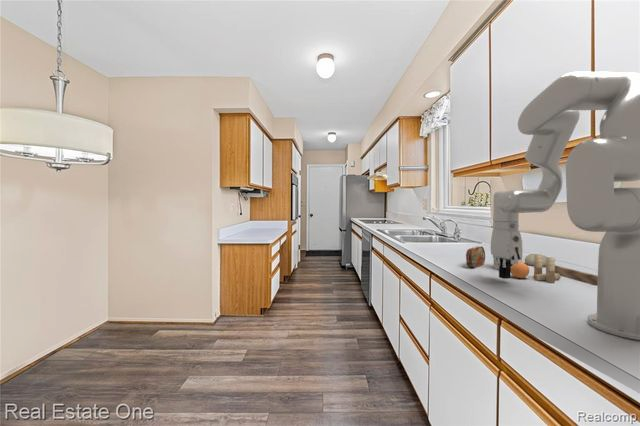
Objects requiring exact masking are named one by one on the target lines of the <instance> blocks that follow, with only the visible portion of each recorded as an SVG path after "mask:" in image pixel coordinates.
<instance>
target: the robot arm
mask: <svg viewBox="0 0 640 426" xmlns="http://www.w3.org/2000/svg"><path fill="white" fill-rule="evenodd" d="M580 111H605V112H604V113H603V115H602V117H601V119H600V123H599V129H598V130H599V137H594V138H589V139H586V140H582V141H581V142H579V143H577V144H576V145H575V146H574V147H573V148H572V150H571V151H570V152H569V154H568V156H567V159H566V162H565V188H566V191H565V192H566V208H567V210H566V211H567V214H568V217H569V219H570V222H571V223H572V224H573V225H574V226H575V227H576V228H578V229H580V230H582V231H585V232H592V233H602V232H603V233H604V234H603V235H602V238H601V241H600V244H599V247H598V257H597V261H598V262H597V276H598V285H596V286H597V288H596V289H597V290H596V313H590V314H588V315H587V323H588V324H589V325H591V326H592V327H593V328H595V329H596V330H597V329H598V330H600V331H602V332H605V333H607V334H610V335H613V336H618V337H621V338H626V339H630V340H635V341H640V187H615V182H616V183H619V182H620V183H621V182H622V183H623V182H624V183H625V182H635V181H636V182H637V181H640V73H639V72H638V73H637V72H629V71H628V72H625V71H624V72H622V71H621V72H619V71H617V72H616V71H615V72H614V71H573V72H568V73H566V74H563V75H561V76H559V77H558V78H556V80H554V81H553V82H551V84H549V85H548V86H547V87H546V88H545V89H543V90H542V91H541V92H540V93H539V94H538V95H537V96H535V97H534V98H533V99H532V100H531V101H530V102H529V103H528V104H527V105H526V106H525V107H524V109H522V111H521V113H520V115H519V118H518V121H517V129H518V132H519V133H521V134H523V135H527V136H530V135H531V136H532V138H531V140H530V143H529V145H528V148H527V150H526V152H525V155H524V159H525V160H526V161H527V162H528V163H529V164H531V165H533V166H535V167H538V168H540V170H541V172H542V178H541V181H540V184H539V185H538V188H537V189H534V188H531V189H525V188H524V189H512V190H499V191H496V192H494V194H493V198H492V199H493V203H492V205H493V207H492V208H493V209H492V232H491V239H490V254H491V255H492V259H493V260H494V259H495V260H497V262H498V266H499V270H498V277H499V279H502V280H503V279H504V280H505V279H506V280H507V279H511V277H512V274H511V267H512V265H513V264H518V260H520V259H522V260H523V240H522V234H521V232H520V230H519V214H524V213H529V214H530V213H544V212H546V211H549V210H550V209H551V208H552V207H553V205H554V204H555V202H556V201H557V199H558V197H559V195H560V193H561V191H562V188H563V174H562V170H561V167H560V164H559V163H560V160H561V158H562V156H563V154H564V152H565V149H566V147H567V145H568V143H569V141H570V139H571V138H572V135H573V133H574V131H575V129H576V126H577V124H578V122H579V119H580V116H581V115H580V114H581V113H580Z"/></svg>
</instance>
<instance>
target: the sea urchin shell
mask: <svg viewBox="0 0 640 426" xmlns="http://www.w3.org/2000/svg"><path fill="white" fill-rule="evenodd" d="M534 255H540V254H539V253H538V254H537V253H531V254H528V255H526V257H525V258H524V262H525V264H526V265H527V266H532V267H534ZM541 255H542V256H543V260H542V268H546V258H547V256H546V255H543V254H541Z"/></svg>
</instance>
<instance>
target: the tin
mask: <svg viewBox="0 0 640 426" xmlns="http://www.w3.org/2000/svg"><path fill="white" fill-rule="evenodd" d="M465 257H466V258H465V259H466V260H465V261H466V265H467V267H468V268H471V269H478V268H479V267H481V266H483V265H484V264H485V261H486V250H485V248H484V246H474V247H470V248H468V249H467V250H466V253H465Z"/></svg>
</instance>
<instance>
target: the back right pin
mask: <svg viewBox="0 0 640 426" xmlns="http://www.w3.org/2000/svg"><path fill="white" fill-rule="evenodd" d="M546 257H547V256H546ZM555 265H556V258H555V257H547V258H546V267H545V274H546V280H545V282H546V283H548V284H554V283H555V281H556V280H555Z"/></svg>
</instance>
